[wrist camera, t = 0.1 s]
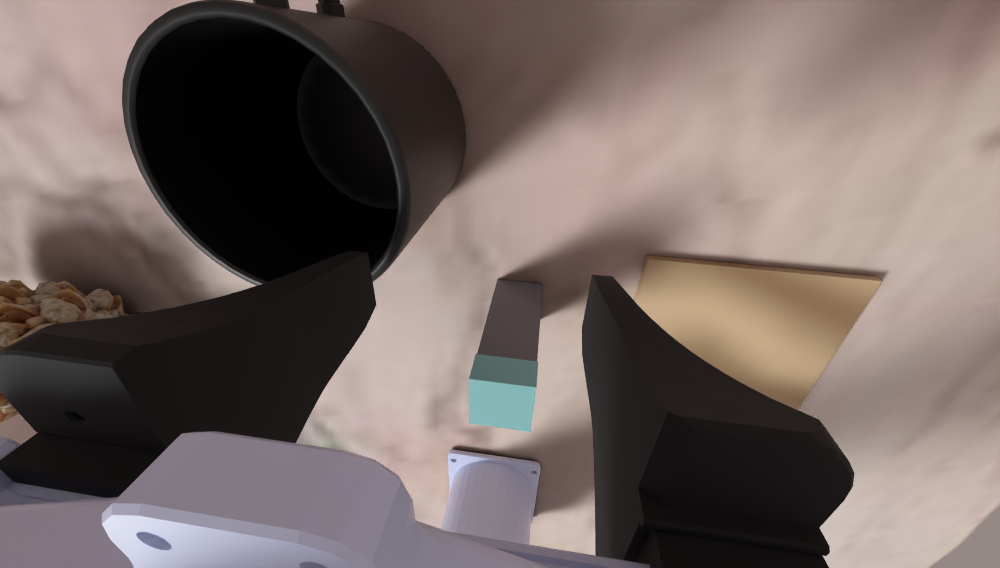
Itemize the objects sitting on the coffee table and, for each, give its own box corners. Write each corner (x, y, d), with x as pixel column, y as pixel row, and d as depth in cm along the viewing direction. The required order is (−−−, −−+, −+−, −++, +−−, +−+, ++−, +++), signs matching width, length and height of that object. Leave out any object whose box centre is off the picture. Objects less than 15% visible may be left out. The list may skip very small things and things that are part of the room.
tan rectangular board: (758, 458, 29) (762, 465, 28) (596, 436, 30) (597, 442, 30) (876, 276, 20) (883, 281, 20) (645, 255, 22) (647, 259, 21)
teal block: (539, 320, 25) (530, 431, 18) (495, 315, 25) (469, 423, 18) (543, 283, 23) (536, 387, 16) (496, 278, 24) (468, 378, 16)
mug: (463, -53, 16) (371, -152, 8) (469, 220, 22) (421, 311, 14) (251, -53, 17) (-12, -141, 9) (315, 209, 23) (192, 289, 15)
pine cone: (52, 343, 33) (-120, 443, 25) (-22, 243, 28) (-270, 326, 20) (291, 376, 31) (192, 496, 23) (257, 274, 26) (114, 380, 18)
